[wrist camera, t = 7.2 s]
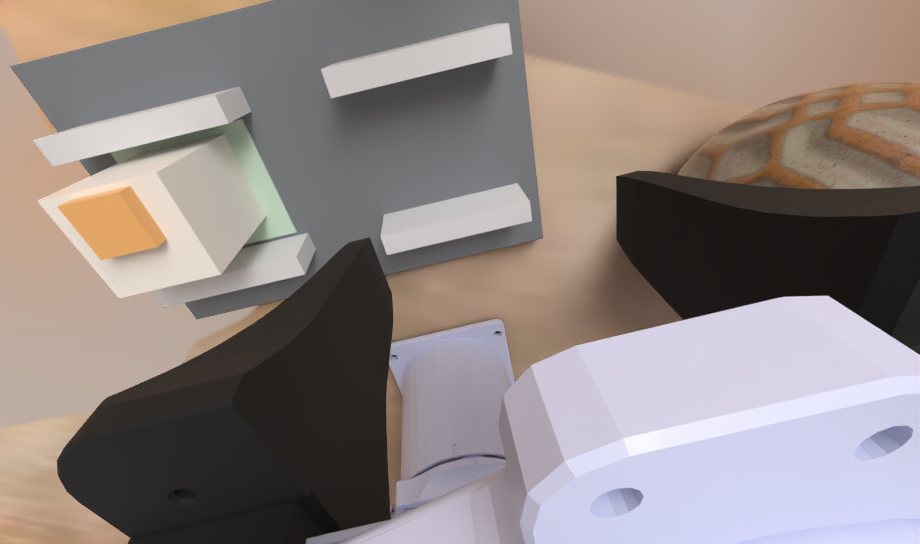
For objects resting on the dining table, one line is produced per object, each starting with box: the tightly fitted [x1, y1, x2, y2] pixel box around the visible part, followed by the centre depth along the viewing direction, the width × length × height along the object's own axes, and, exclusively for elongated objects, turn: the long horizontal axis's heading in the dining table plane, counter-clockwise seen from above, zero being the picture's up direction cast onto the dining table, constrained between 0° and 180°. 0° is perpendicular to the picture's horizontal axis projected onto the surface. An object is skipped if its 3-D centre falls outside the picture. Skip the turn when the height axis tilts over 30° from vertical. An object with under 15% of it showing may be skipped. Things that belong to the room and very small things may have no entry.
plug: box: [38, 134, 267, 298], centre depth 16 cm, size 4×4×6 cm
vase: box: [673, 82, 920, 321], centre depth 15 cm, size 13×13×18 cm
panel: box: [10, 0, 543, 319], centre depth 18 cm, size 13×20×4 cm, turn 102°
